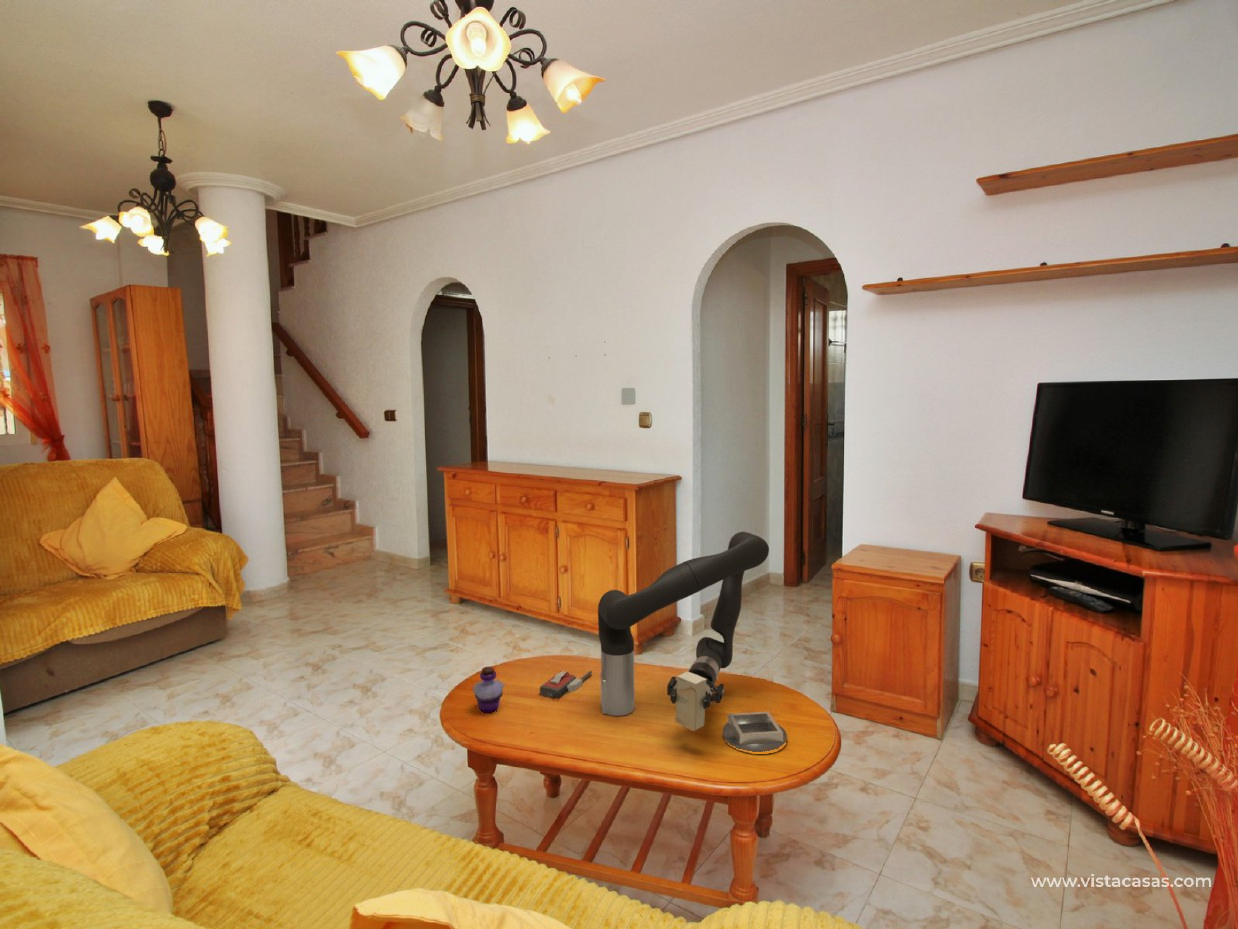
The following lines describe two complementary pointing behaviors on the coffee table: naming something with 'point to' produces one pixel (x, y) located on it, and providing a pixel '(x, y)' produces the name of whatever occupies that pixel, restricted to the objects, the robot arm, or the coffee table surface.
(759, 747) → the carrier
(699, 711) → the skincare box
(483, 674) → the potion bottle
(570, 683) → the walkie-talkie
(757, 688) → the coffee table surface
